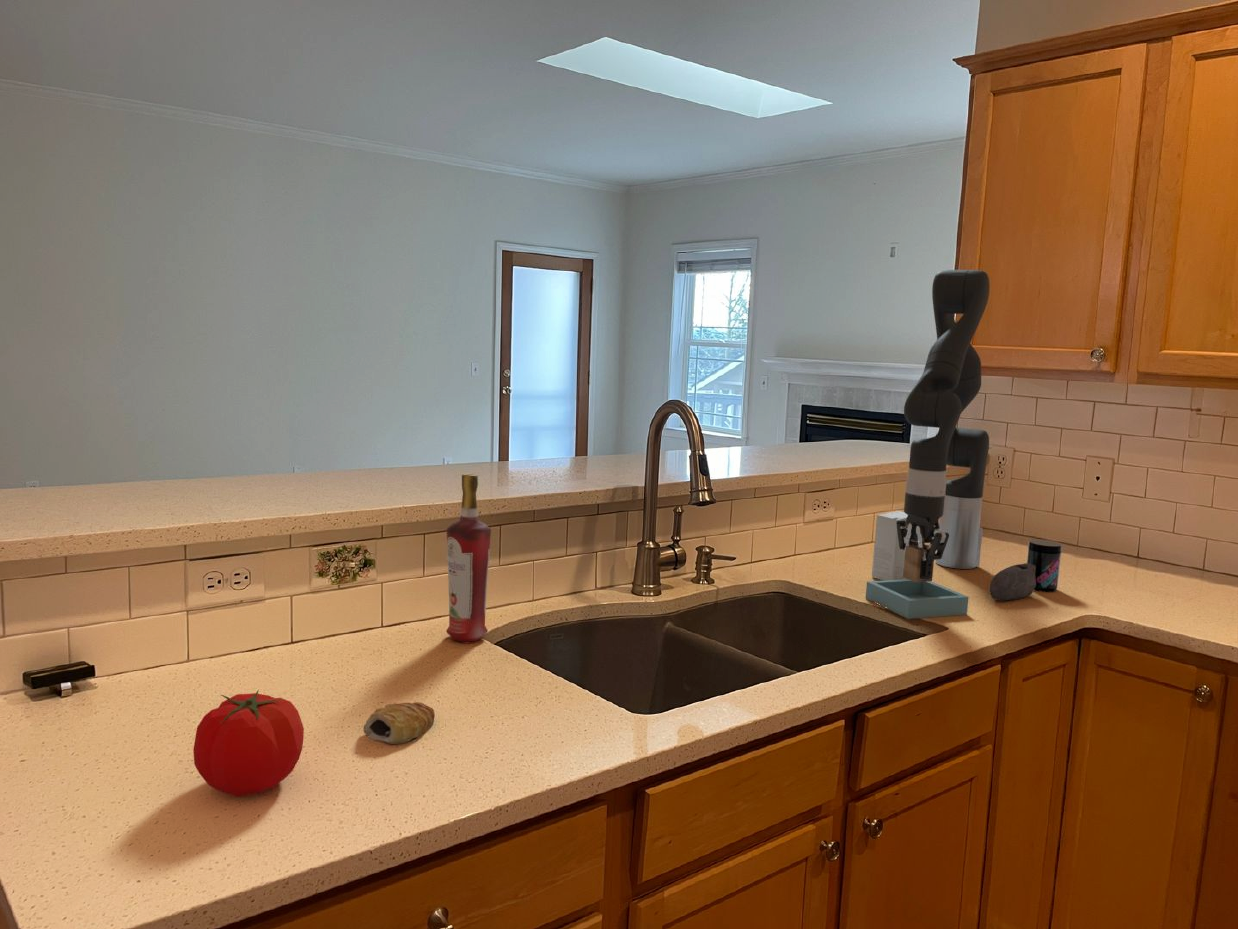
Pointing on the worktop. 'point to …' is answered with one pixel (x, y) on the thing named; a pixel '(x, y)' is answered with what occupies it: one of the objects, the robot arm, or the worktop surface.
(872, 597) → the tray
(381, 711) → the pastry
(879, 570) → the skincare box
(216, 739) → the tomato
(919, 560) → the walnut block
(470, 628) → the liquor
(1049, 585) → the supplement container
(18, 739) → the worktop surface
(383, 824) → the worktop surface
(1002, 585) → the perforated stone tool
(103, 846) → the worktop surface
